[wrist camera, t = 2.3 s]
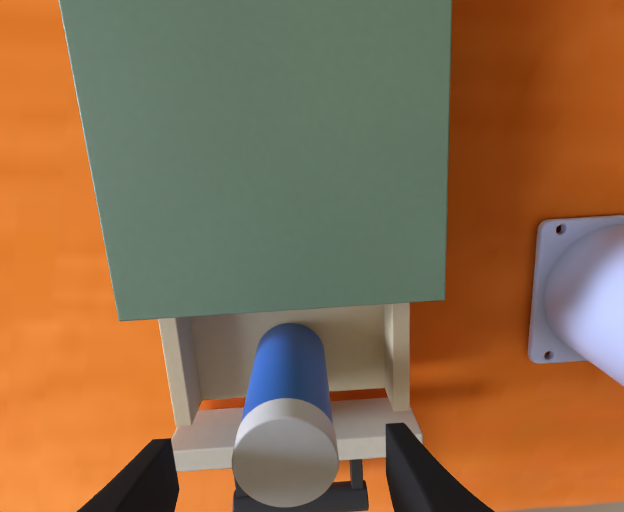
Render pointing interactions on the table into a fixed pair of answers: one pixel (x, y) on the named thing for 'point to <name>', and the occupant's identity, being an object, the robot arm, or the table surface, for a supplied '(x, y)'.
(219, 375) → the drawer
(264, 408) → the medicine bottle
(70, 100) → the table surface
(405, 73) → the cabinet
